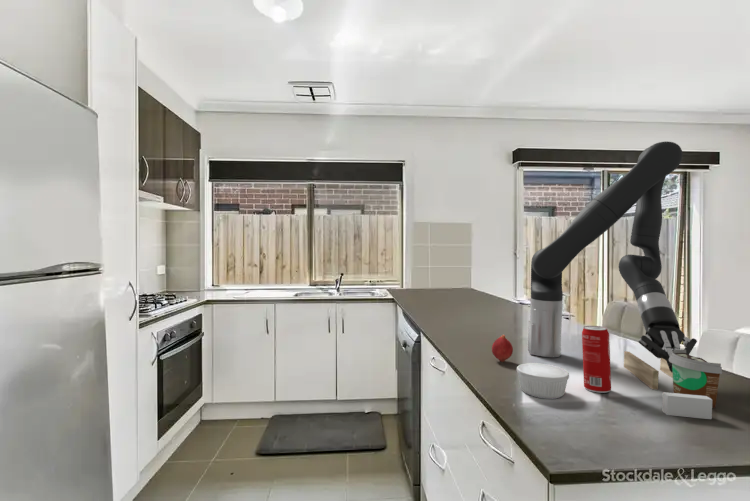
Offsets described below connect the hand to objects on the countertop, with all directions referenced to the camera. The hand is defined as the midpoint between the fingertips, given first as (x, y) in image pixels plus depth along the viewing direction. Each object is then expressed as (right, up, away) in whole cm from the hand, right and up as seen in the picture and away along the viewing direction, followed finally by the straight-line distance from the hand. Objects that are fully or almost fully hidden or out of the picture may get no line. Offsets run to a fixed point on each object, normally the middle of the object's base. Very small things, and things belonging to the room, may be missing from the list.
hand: (679, 373), depth 97 cm
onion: (-36, -3, +21) cm, 42 cm away
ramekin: (-34, -4, -2) cm, 34 cm away
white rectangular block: (-9, -4, -13) cm, 17 cm away
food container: (-2, -5, -5) cm, 7 cm away
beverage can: (-20, -4, 0) cm, 20 cm away
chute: (+1, -4, +9) cm, 10 cm away
